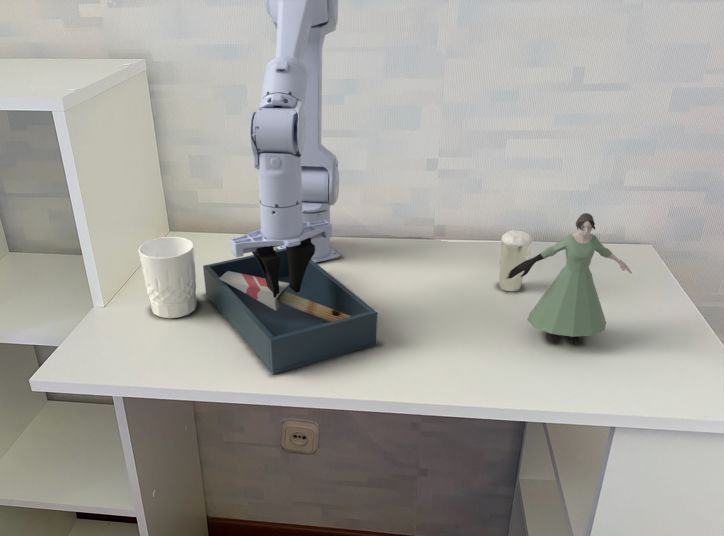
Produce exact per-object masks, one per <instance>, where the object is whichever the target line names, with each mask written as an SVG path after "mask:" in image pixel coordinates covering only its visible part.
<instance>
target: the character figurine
mask: <svg viewBox="0 0 724 536" xmlns="http://www.w3.org/2000/svg"><path fill="white" fill-rule="evenodd" d="M575 226H576V231H575V232H573V233H570V234H568V235H566V236H565V237H564V238H563V239H561V240H560V241H558V242H557V243H555V244H553V245H550V246H549V247H547V248H545V249H544V250H542V251H541V252H540V253H538V254H537V255H535V256H533V257H531V258H528V259H527V260H526V261H524V262H522V263H521V264H519V265H518V266H516V267H515V268H514V269H512V270H511V271H510V272H511V273H510V272H509V273H510V274H509V273H508V274H509V276H508V275H507V276H508V277H507V276H506V277H507V278H508V279H509V278H510V279H511V278H513V277H514V276H516V275H517V274H519V273H521V272H522V271H524V273H523V274H522V275H521V277H522V276H523V277H525V276H527V274H528V273H529V272H530V270H531V269H532V267H533V266H534V265H535V264H536V263H537V262H539V261H540V262H541V261H543V260H545V259H547V258H549V257H553V256H555V255H556V254H557V253H559V252H561V251H563V250H565V259H566V260H565V261H566V262H565V266H564V267H563V268H561V270H560V271H559V273H558V275H557V276H556V278H555V279H554V280H553V282H552V284H550V286H549V287H548V288H547V289H546V291H545V292H544V294H543V295H542V296H541V297H540V299H539V300H538V301H537V303H536V304H535V306H534V307H533V308H532V309H531V310H530V312H529V314H528V317H527V320H526V321H527V322H528V323H529V324H530V325H531V326H532V327H534V328H535V329H537V330H540V331H542V332H545V333H546V334H545V336H546V339H547V341H548V342H549V343H550V344H552V345H553V344H556V343H557V336H564V337H565V336H566V337H569V338H570V341H571V343H572V344H574V345H580V343H581V339H580V337H589V336H595V335H597V334H599V333H602V332H604V331H606V326H607V321H606V317H605V314H604V311H603V308H602V305H601V301H600V298H599V295H598V291H597V289H596V285H595V283H594V277H593V273H592V271H591V269H590V265H591V263H592V260H593V257H594V254H595V252H597V253H598V254H599V255H600V257H603V258H605V259H606V258H607V259H610V260H613V261H615V262H616V263H617V264H618V266H619V268H620V269H621V271H622V272H625V270H626V271H627V272H628V273H629V274H631V275H632V270H631V269H630V267H629V266H628V264H626V263H625V262H624V261H623V260H622V259H619V258H618V257H617V256H616V255H615V254H614V253H613V252H612V251H611V250H610V249H609V248H607V247H605V246H604V245H603V243H601V241H600V240H599V238H598V237H597V235H595V234H593V233H591V232H592V230H596V223H595V219H594V216H593V215H592V214H591V213H588V212H584V213H582V214H580V215H579V217H578V218H577V220H576V222H575ZM507 278H506V279H507ZM508 279H507V280H508ZM556 335H557V336H556Z"/></svg>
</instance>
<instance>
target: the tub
mask: <svg viewBox="0 0 724 536" xmlns="http://www.w3.org/2000/svg"><path fill="white" fill-rule="evenodd" d="M274 250H275V251H276V255H277V256H279V257H280V258H281V260H280V265H279V276H278V279H279V281H280V282H285V283H289V264H288V256H287V250H286V248H284V249H274ZM202 267H203V269H202V270H203V279H204V288H205V296H206V297H207V298H208V300H210V302H211V304H213V306H214V307H216V309H217V310H218V311H219V312H220V314H221V315H222V316H223V318H225V320H226V321H227V322H228V323H229V324H230V325H231V327H232V328H233V329H234V331H236V333H237V334H238V335H239V336H240V337H241V338H242V340H243V341H244V343H246V344H247V346H248V347H249V348H250V349H251V350H252V352H253V353H254V354H255V355H256V356H257V358H258V359H259V360H260V361H261V363H262V364H263V365H264V366H265V367H266V368H267V369H268V371H269V372H270V373H271V374H272V375H276V374H280V373H283V372H286V371H290V370H293V369H294V370H295V369H297V368H300V367H304V366H308V365H311V364H314V363H318V362H321V361H325V360H328V359H332V358H336V357H339V356H342V355H346V354H350V353H353V352H357V351H360V350H363V349H368V348H370V347H375V346H377V337H378V311H376V310H375V309H374V308H373V307H371V306H370V305H369V304H368V303H367V302H365V300H363V299H362V298H360V297H359V296H358V295H357V294H355V293H354V292H353V291H352V290H351V289H349V288H348V287H346V286H345V285H344V284H343V283H342V282H340V281H339V280H338V279H337V278H335V277H334V276H333V275H332V274H331V273H329V272H327V270H325V268H323V267H321V266H320V265H319V264H318V263H317V262H316V263H315V262H314V261H313V260H310V261H309V263H308V266H307V268H306V270H305V273H304V276H303V280H302V284H301V288H300V292H295V291H294V290H292V289H291V288H290V285H288V287H287V288H286V289H285V291H286V292H289V293H291V294H294V295H296V296H299V297H301V298H304V299H307V300H309V301H312V302H315V303H318V304H320V305H323V306H326V307H328V308H331V309H334V310H336V311H338V312H342V313H344V314H347V315H350V316H351V317H347V318H343V319H339V320H336V321H332V322H329V321H327V320H324V319H321V318H319V317H316V316H314V315H311V314H308V313H306V312H303V311H301V310H298V309H295V308H292V307H290V306H287V305H284V304H282V305H281V306H280V307H279V308H278V309H277V311H276V310H274V309H272V308H270V307H268V306H267V305H265V304H263V303H261V302H260V301H258V300H256V299H254V298H252V297H251V296H249V295H247V294H245V293H244V292H242V291H240V290H238V289H236V288H235V287H233V286H231V285H229V284H228V283H226V282H224V281H222V280H220V279H219V278H220V277H221V276H222V275H223V274H225V273H226V272H227V271H230V272H235V273H240V274H245V275H250V276H255V277H260V278H265V277H264V274H263V272H262V269H261V267H260V265H259V263H258V262H257V260H256V258H255V256H254V255H253V254H251V255H247V256H241V257H236V258H233V259H228V260H223V261H217V262H214V263H209V264H205V265H202Z"/></svg>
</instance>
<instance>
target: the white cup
mask: <svg viewBox="0 0 724 536" xmlns="http://www.w3.org/2000/svg"><path fill="white" fill-rule="evenodd" d="M138 255H139V259H140V265H141V269H142V275H143V279H144V284H145V288H146V292H147V296H148V298H149V303H150V309H151V311H152V312H153V313H152V314H153V315H155V316H157V317H159V318H164V319H176V318H182V317H185V316H189V315H190V314H191V313H194V311H195V310H196V308H197V305H198V303H197V282H196V279H197V273H196V259H195V244H194V242H193V241H192V240H190V239H188V238H186V237H181V236H162V237H157V238H152V239H150V240H147V241H145V242H144V243H142V244H141V245H140V246H139V247H138Z"/></svg>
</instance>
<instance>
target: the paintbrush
mask: <svg viewBox="0 0 724 536" xmlns="http://www.w3.org/2000/svg"><path fill="white" fill-rule="evenodd" d="M219 279H220V280H222V281H224V282H226V283H228V284H229V285H231V286H233V287H235V288H236V289H238V290H240V291H242V292H244V293H245V294H247V295H249V296H251V297H252V298H254V299H256V300H258V301H260V302H261V303H263V304H265V305H267V306H268V307H270V308H272V309H274V310H276V311H277V309H278V308H279V307H280V306H281V305H282V304H284V305H287V306H290V307H292V308H295V309H298V310H301V311H303V312H306V313H308V314H311V315H314V316H316V317H319V318H321V319H324V320H327V321H329V322H332V321H336V320H339V319H343V318H347V317H351V316H350V315H347V314H344V313H342V312H338V311H336V310H334V309H331V308H328V307H326V306H323V305H320V304H318V303H315V302H312V301H309V300H307V299H304V298H301V297H299V296H296V295H294V294H291V293H289V292H286V291H285V289H286V288H287V287H288V285H289V284H290V283H285V282H280V281H279V294H277V295H276V297H275V298H274V296H273V292H272V291H271V290H270V289H269V288H268V286H267V283H266V280H265V278H260V277H255V276H250V275H245V274H240V273H235V272H230V271H227V272H226V273H225V274H223V275H222V276H221V277H220V278H219ZM278 296H279V297H278Z"/></svg>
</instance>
